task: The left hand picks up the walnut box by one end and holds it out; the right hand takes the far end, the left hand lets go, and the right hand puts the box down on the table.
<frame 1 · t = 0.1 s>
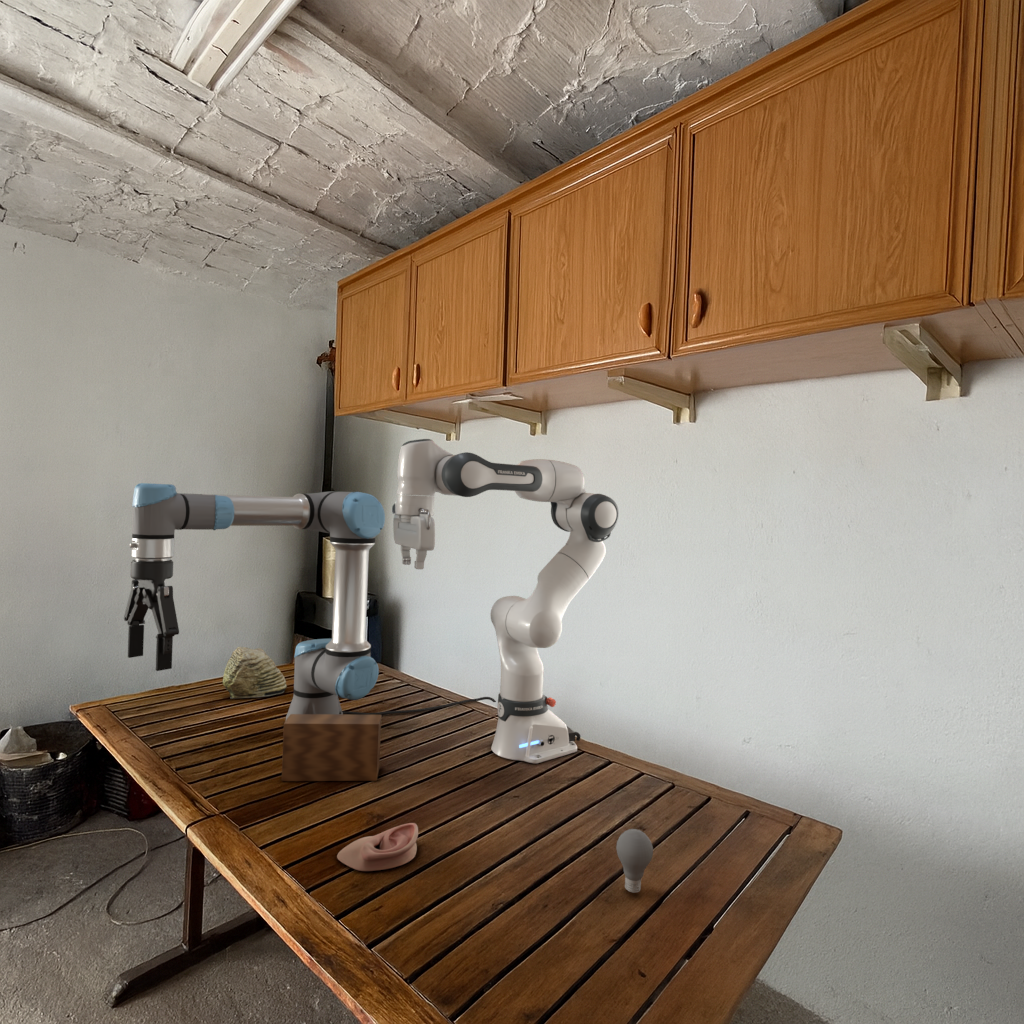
left hand: (149, 662, 129), 28 cm above the table, tool pointing down, fingers open, 13 cm apart
right hand: (412, 566, 149), 48 cm above the table, tool pointing down, fingers open, 8 cm apart
box: (331, 775, 144), on the table
anatomical model: (378, 855, 113), on the table
fossil: (254, 694, 198), on the table
light bulb: (632, 891, 106), on the table
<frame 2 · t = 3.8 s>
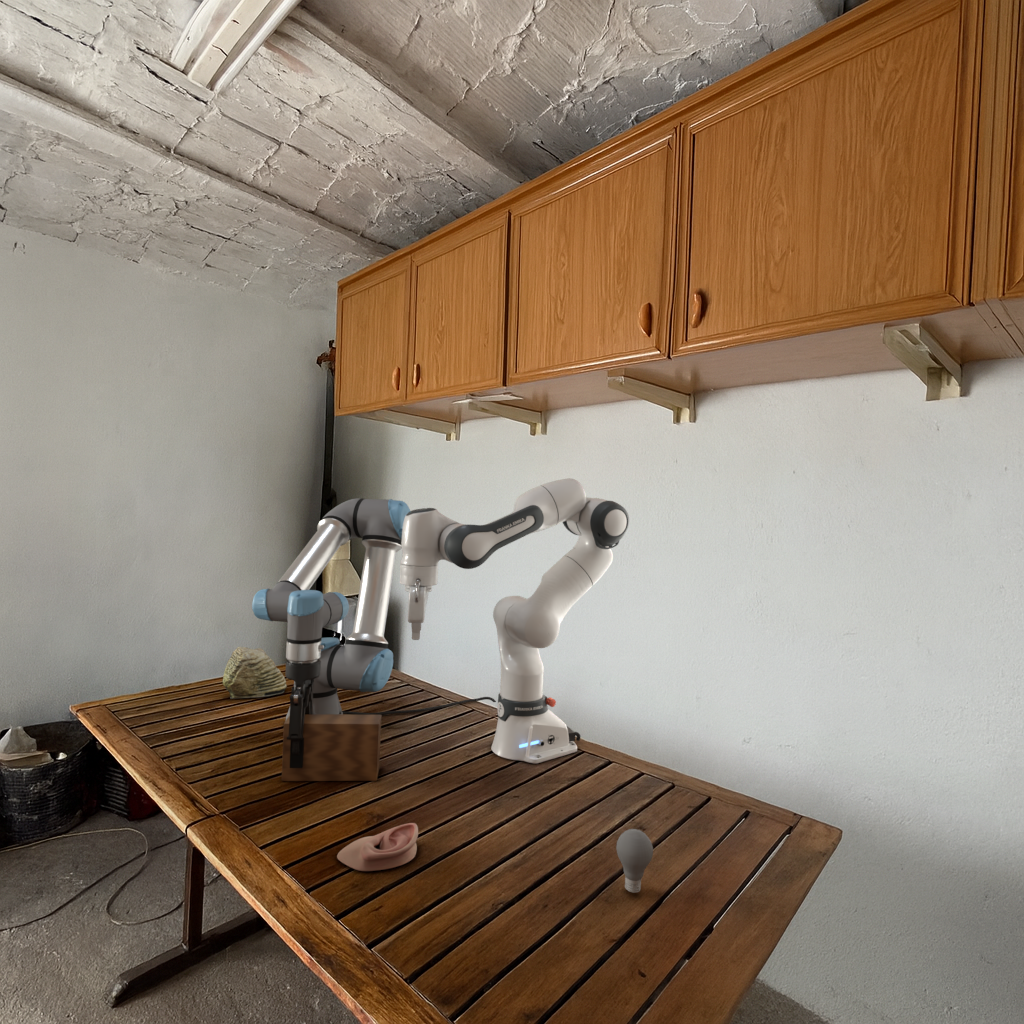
left hand: (299, 760, 143), 3 cm above the table, tool pointing down, fingers closed on box, 6 cm apart
right hand: (416, 634, 150), 32 cm above the table, tool pointing down, fingers open, 8 cm apart
box: (331, 775, 144), on the table, touching left hand
everything else where it was.
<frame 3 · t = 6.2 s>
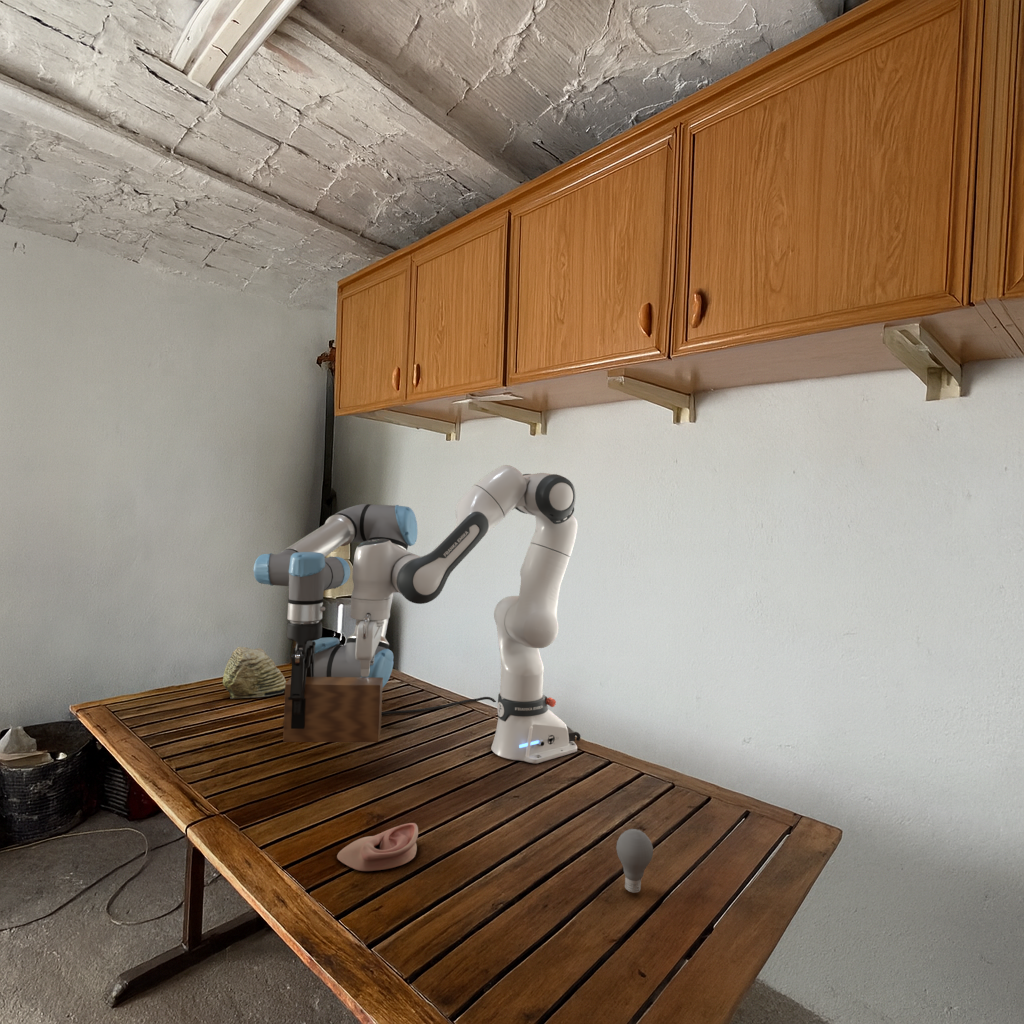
left hand: (301, 722, 143), 12 cm above the table, tool pointing down, fingers closed on box, 6 cm apart
right hand: (367, 670, 145), 24 cm above the table, tool pointing down, fingers open, 8 cm apart
box: (333, 737, 144), point 9 cm above the table, touching left hand
everything else where it was.
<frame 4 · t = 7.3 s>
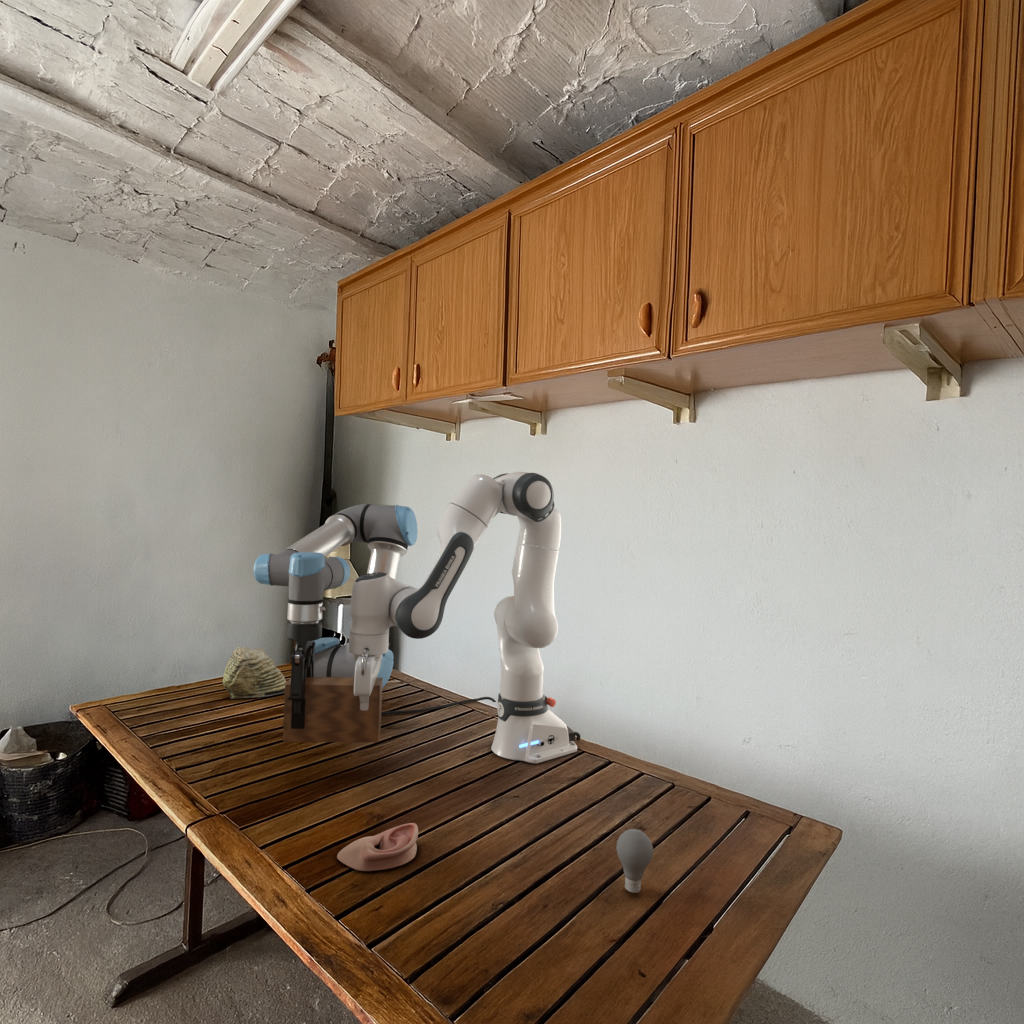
left hand: (301, 722, 143), 12 cm above the table, tool pointing down, fingers closed on box, 6 cm apart
right hand: (366, 703, 145), 16 cm above the table, tool pointing down, fingers closed on box, 6 cm apart
box: (333, 737, 144), point 9 cm above the table, touching left hand, right hand
everything else where it was.
when the left hand's fingers open (12 cm above the table, at t = 8.4 s): box stays where it is, held by the right hand.
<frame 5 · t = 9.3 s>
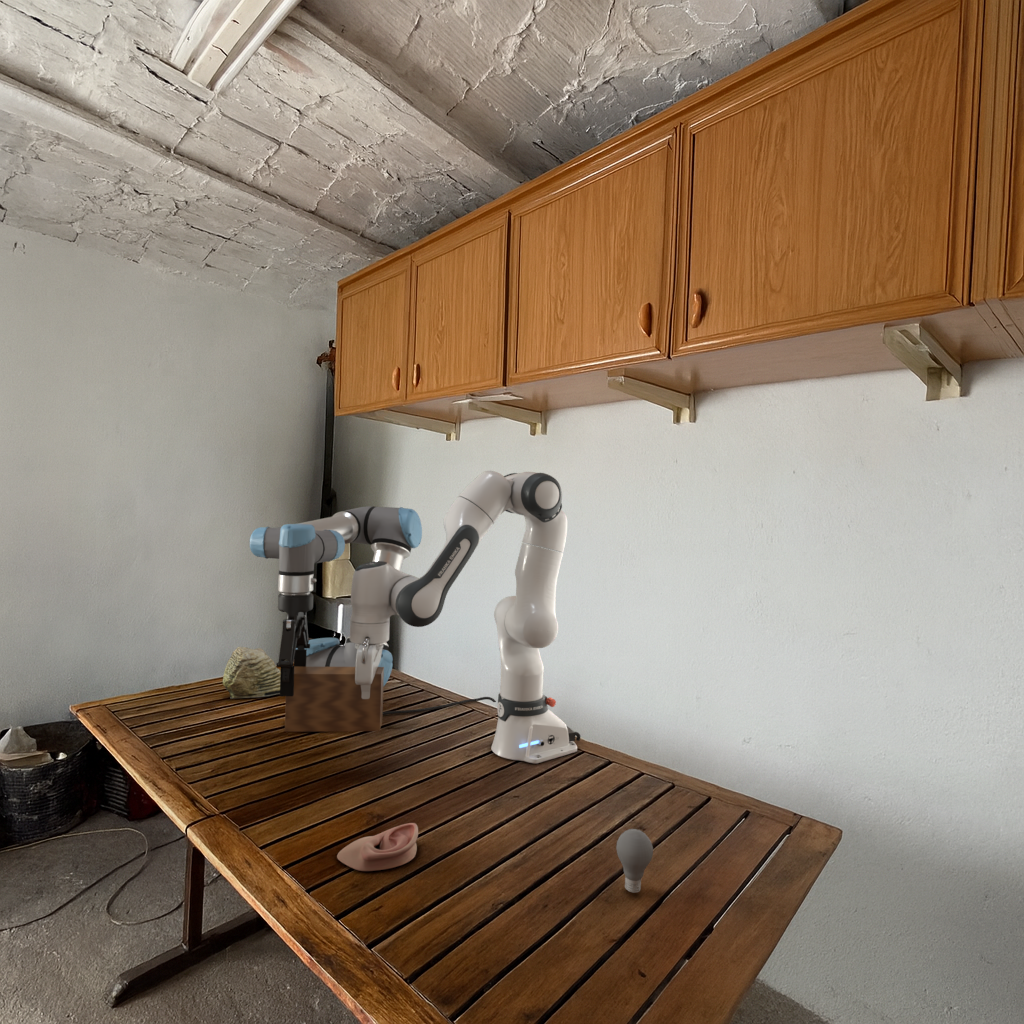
left hand: (293, 686, 143), 20 cm above the table, tool pointing down, fingers open, 13 cm apart
right hand: (367, 692, 145), 19 cm above the table, tool pointing down, fingers closed on box, 6 cm apart
box: (334, 726, 144), point 11 cm above the table, touching right hand
everything else where it was.
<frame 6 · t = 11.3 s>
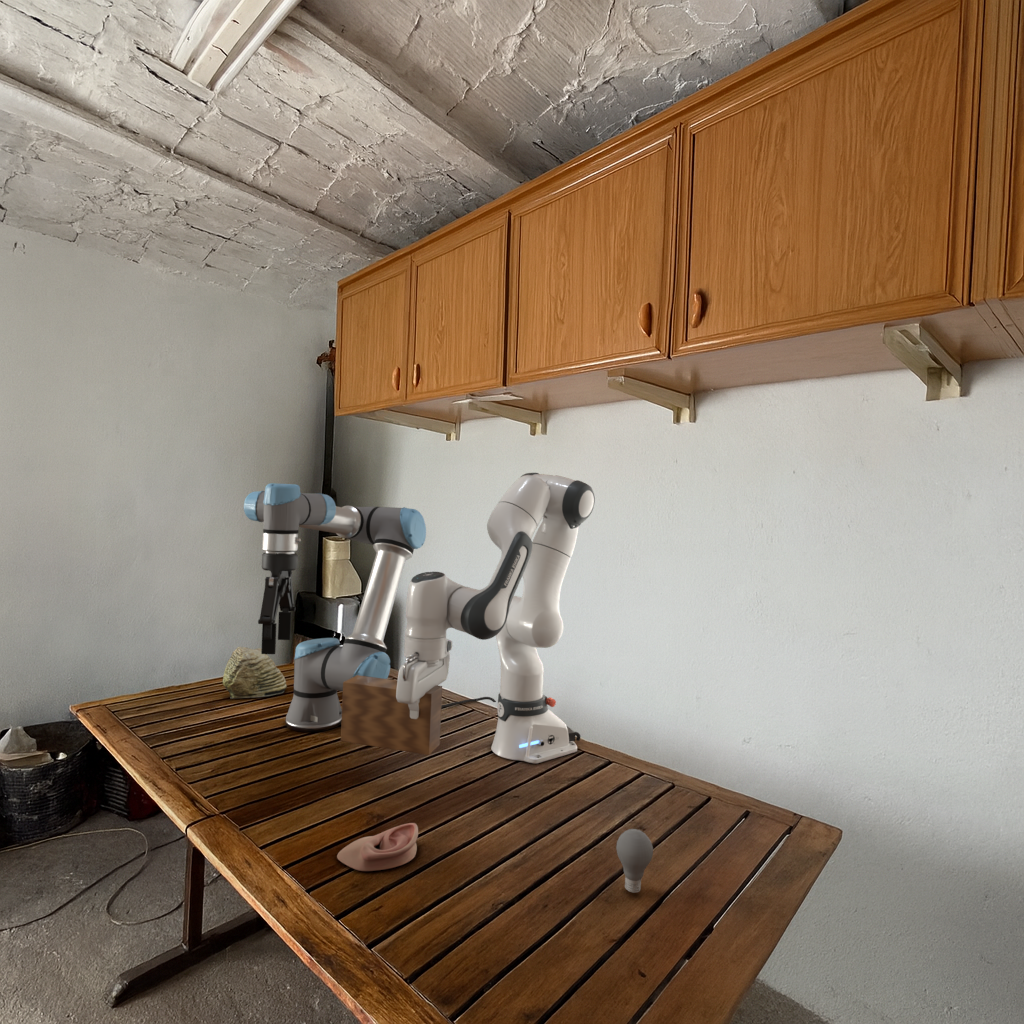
left hand: (276, 646, 142), 29 cm above the table, tool pointing down, fingers open, 13 cm apart
right hand: (422, 712, 136), 18 cm above the table, tool pointing down, fingers closed on box, 6 cm apart
box: (390, 742, 138), point 10 cm above the table, touching right hand
everything else where it was.
when the right hand's fingers open (9 cm above the table, at t = 13.0 s): box moves 1 cm, on the table.
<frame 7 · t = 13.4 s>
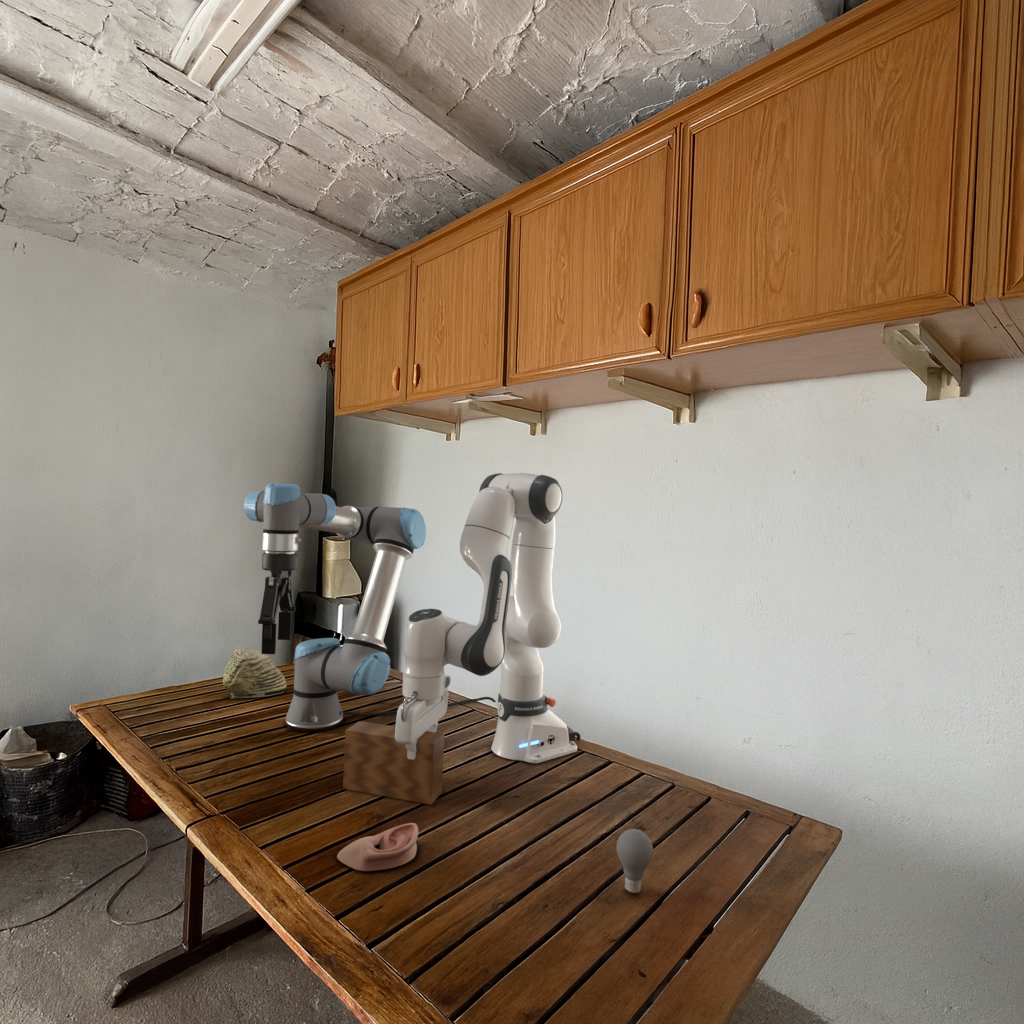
left hand: (276, 646, 142), 29 cm above the table, tool pointing down, fingers open, 13 cm apart
right hand: (421, 749, 136), 10 cm above the table, tool pointing down, fingers open, 8 cm apart
box: (392, 790, 138), on the table
everything else where it was.
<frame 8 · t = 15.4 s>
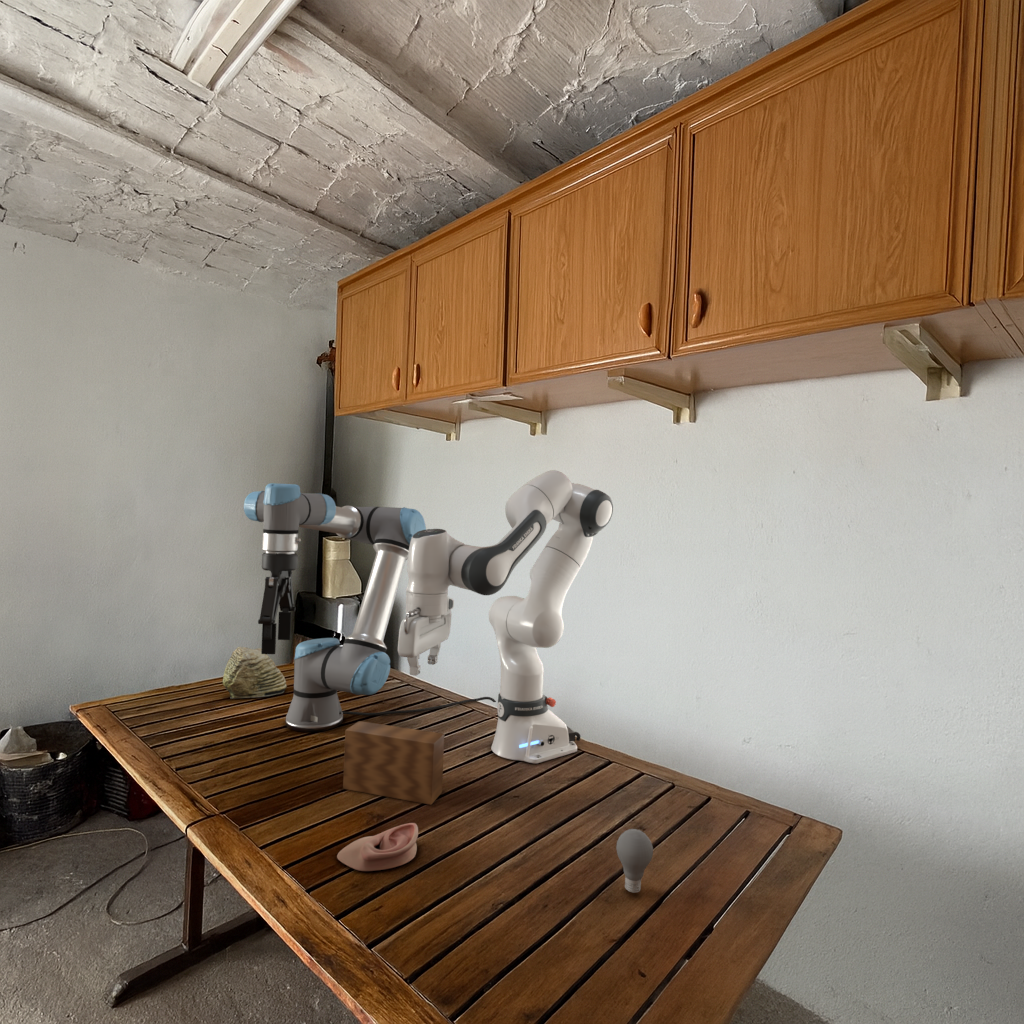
left hand: (276, 646, 142), 29 cm above the table, tool pointing down, fingers open, 13 cm apart
right hand: (423, 669, 136), 27 cm above the table, tool pointing down, fingers open, 8 cm apart
nothing on the table moved.
at the end: box inside the target area (6.2 cm from its centre), on the table; the left hand is holding nothing; the right hand is holding nothing; box at rest at the end (0.0 cm/s) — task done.
